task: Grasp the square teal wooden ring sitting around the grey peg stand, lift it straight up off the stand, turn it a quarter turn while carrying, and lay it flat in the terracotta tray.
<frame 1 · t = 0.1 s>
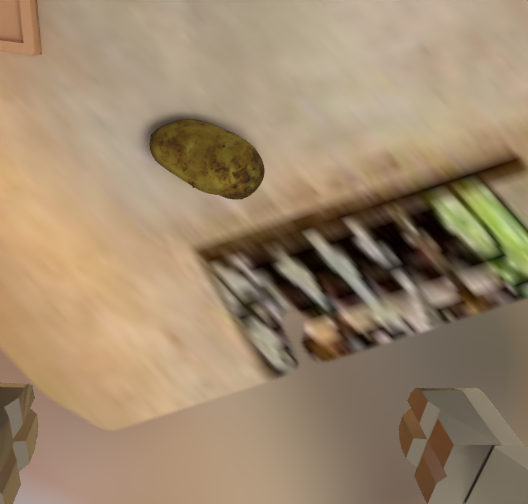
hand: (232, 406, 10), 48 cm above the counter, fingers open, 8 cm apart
potato: (208, 148, 55), on the counter
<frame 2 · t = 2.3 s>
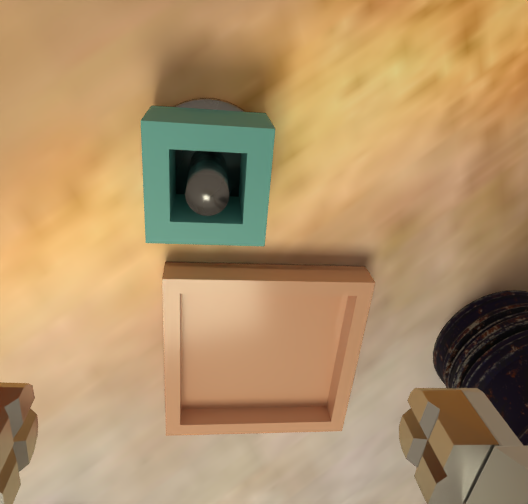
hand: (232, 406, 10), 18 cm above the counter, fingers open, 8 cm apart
tray: (260, 344, 32), on the counter
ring: (208, 164, 25), resting on grey peg stand
storage jar: (492, 342, 34), on the counter
grey peg stand: (208, 162, 25), on the counter
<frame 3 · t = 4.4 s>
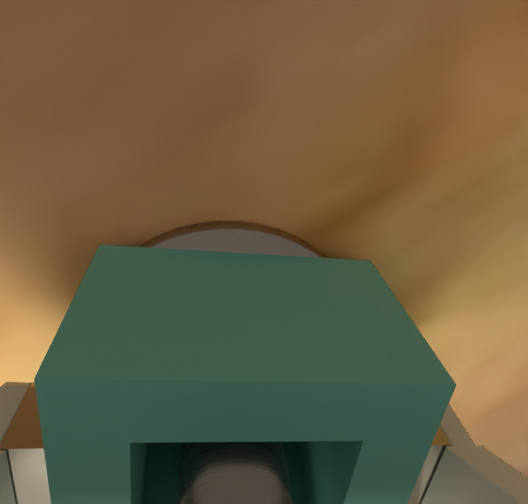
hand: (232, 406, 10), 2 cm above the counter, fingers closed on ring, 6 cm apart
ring: (229, 359, 11), resting on grey peg stand, touching gripper
grey peg stand: (225, 345, 12), on the counter
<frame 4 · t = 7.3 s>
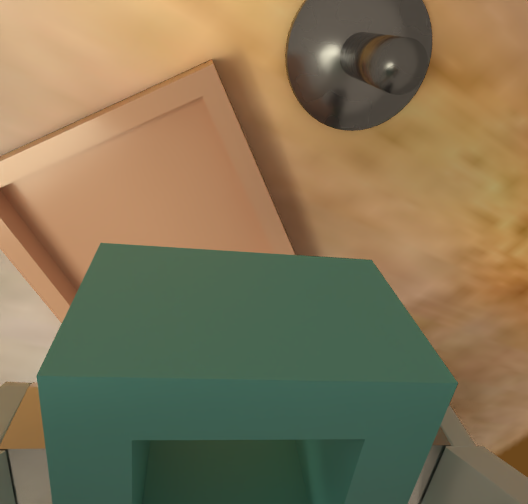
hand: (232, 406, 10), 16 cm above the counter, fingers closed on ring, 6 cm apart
tray: (154, 228, 24), on the counter
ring: (229, 358, 11), point 14 cm above the counter, touching gripper
grey peg stand: (357, 54, 21), on the counter
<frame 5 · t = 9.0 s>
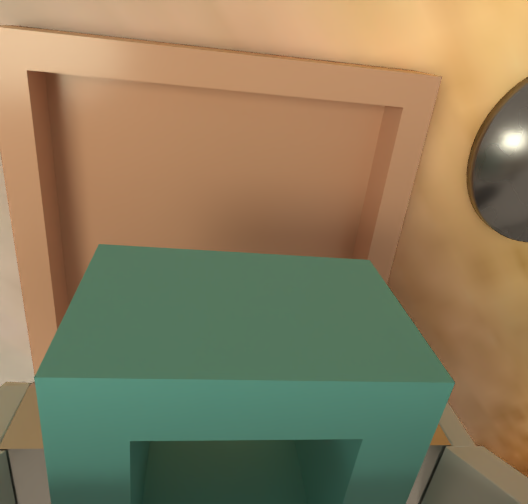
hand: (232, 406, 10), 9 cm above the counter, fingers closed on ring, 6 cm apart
tray: (214, 231, 17), on the counter
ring: (228, 358, 11), point 7 cm above the counter, touching gripper
when the fingers open (4 cm above the counter, at t = 10.5 s): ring drops 1 cm, resting on tray.
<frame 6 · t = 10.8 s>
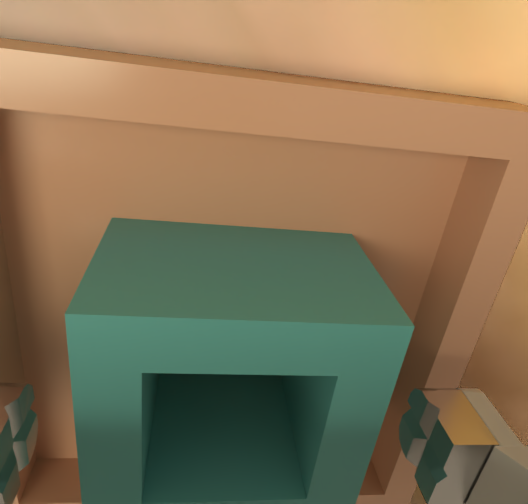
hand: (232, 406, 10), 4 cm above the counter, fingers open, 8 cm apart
tray: (226, 308, 13), on the counter
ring: (226, 324, 12), point 1 cm above the counter, touching tray
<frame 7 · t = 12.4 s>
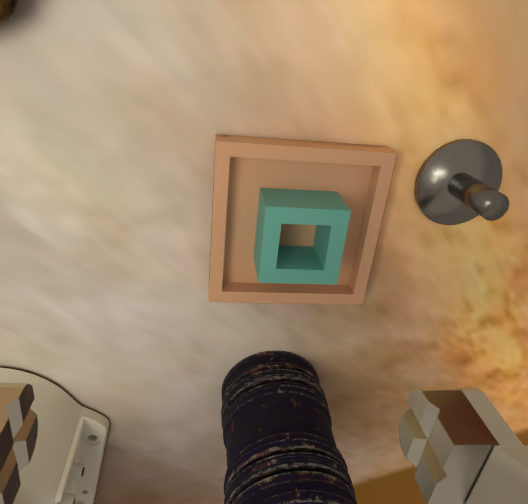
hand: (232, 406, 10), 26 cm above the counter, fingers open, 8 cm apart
tray: (292, 221, 36), on the counter
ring: (293, 225, 36), point 1 cm above the counter, touching tray
storage jar: (270, 387, 44), on the counter
grey peg stand: (456, 182, 36), on the counter
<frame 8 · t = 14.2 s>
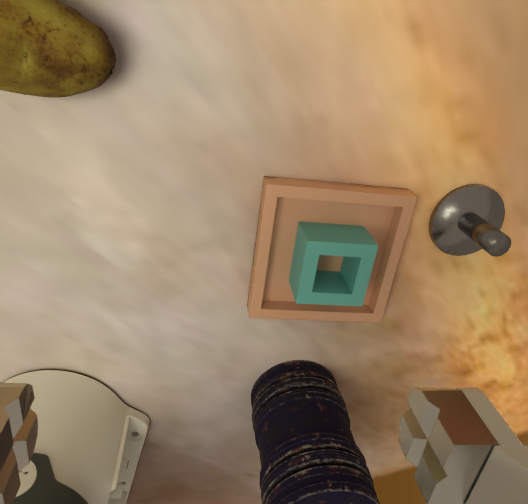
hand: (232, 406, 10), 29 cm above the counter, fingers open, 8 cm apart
potato: (20, 34, 31), on the counter
tray: (323, 249, 42), on the counter
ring: (325, 253, 41), point 1 cm above the counter, touching tray
storage jar: (293, 392, 50), on the counter
grey peg stand: (465, 219, 42), on the counter
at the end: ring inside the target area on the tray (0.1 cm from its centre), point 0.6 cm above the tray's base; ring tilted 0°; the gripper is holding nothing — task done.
